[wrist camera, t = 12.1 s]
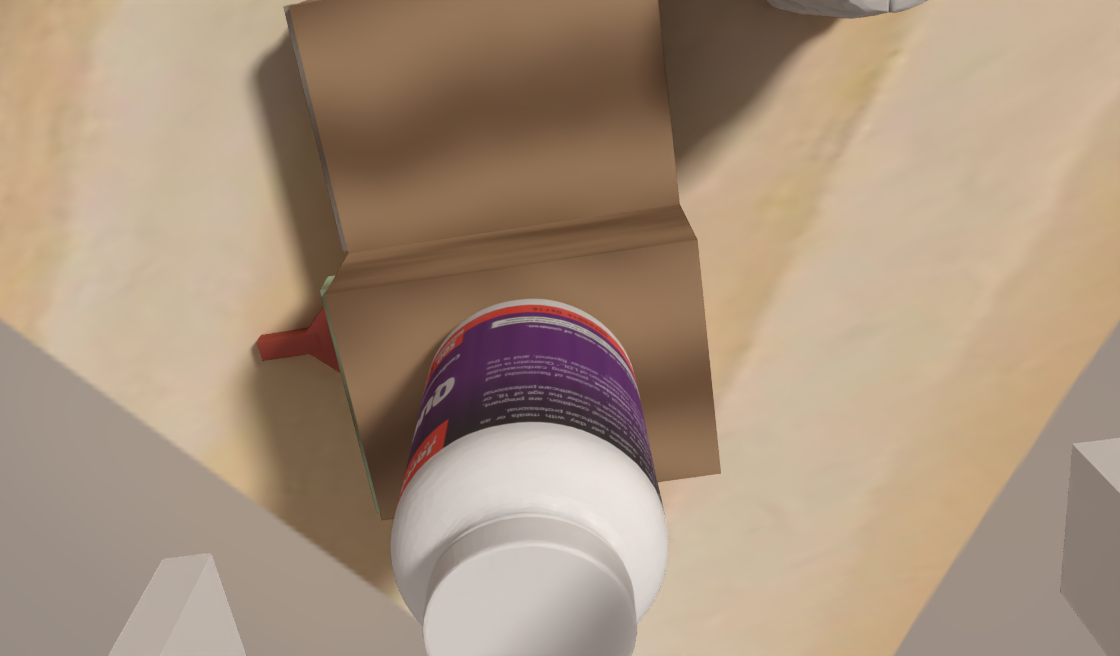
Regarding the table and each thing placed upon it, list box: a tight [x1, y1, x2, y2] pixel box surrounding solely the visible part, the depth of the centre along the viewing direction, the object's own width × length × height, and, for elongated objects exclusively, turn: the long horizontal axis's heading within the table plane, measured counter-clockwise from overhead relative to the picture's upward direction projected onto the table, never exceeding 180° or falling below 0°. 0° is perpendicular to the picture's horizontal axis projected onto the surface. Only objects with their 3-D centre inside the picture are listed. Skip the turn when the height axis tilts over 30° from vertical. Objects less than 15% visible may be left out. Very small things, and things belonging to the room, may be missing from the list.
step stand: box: [257, 0, 721, 520], centre depth 41 cm, size 20×20×9 cm
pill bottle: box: [391, 299, 668, 656], centre depth 32 cm, size 8×8×14 cm
